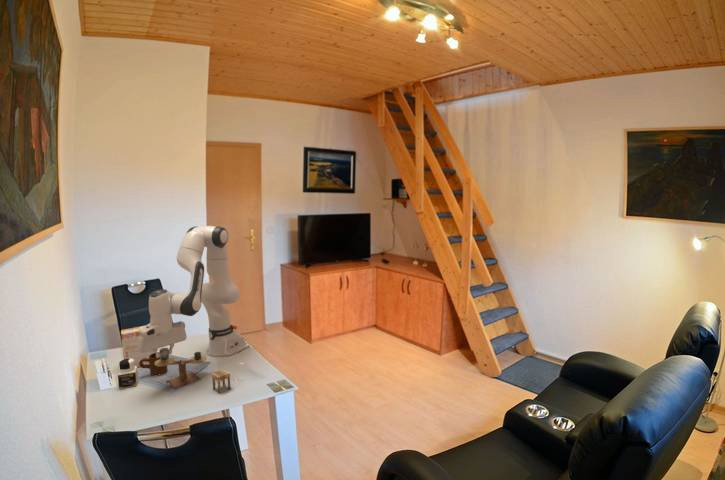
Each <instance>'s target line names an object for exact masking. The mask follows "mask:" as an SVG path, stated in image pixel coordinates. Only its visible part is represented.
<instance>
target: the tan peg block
mask: <svg viewBox="0 0 725 480" xmlns="http://www.w3.org/2000/svg"><path fill="white" fill-rule="evenodd" d="M226 380H227V390H231V372H229V371H227V370H226V369H220V370H219V371H215V372H213V373H211V381H212V390H213V391H216V381H217V390H218V391H217V392H218V394H222V390H221V381H222V386H223V387H224V386H226Z"/></svg>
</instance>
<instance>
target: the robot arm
mask: <svg viewBox="0 0 725 480" xmlns="http://www.w3.org/2000/svg"><path fill="white" fill-rule="evenodd" d="M228 240H229V232H228V230H227V229H226V228H225V227H222V226H214V225H205V226H204V225H203V226H201V225H200V226H192V227H190V228H189V229H188V230H187V232H186V234H185V235H184V237H183V239H182V241H181V243H180V245H179V248H178V251H177V254H176V261H177V264H178V265H179V267H181V268H182V269H184V270H185V271H187V272H189V273H190V276H191V277H190V283H189V290H188V292H187V293H179V292H172V291H169V290H167V289H165V288H164V289H163V288H162V289H157V290H155V291H152V292H151V293H150V294H149V297H148V312H149V315H150V319H149V323H148V324H146V325H143V326H144V327H142V328H141V329H139V333H140V335H139V337H138V350H139V351H140V352H142V353H144V352H147V351H151V350H153V351H154V352H155V353H156V357H157V358H159V357H161V353H158V352H159V350H158V349H162V348H165V347H168V346H169V348H168V352H169V355H171V354H173V349H174V347H175V344H178V343H180V342H184V341H186V339H187V337H188V336H187V332H186V323H185V322H184V321H177V322H176V321H175V322H173V318H172V317H173V316H172V315H174V314H175V315H182V316H188V317H193V316H194V315H196V314H197V313H199V311H200V309H201V307H202V305H203V307H204V309H205V310H206V314H207V317H208V318H207V319H208V326H209V327H208V339H209V344H208V350H207V355H209V356H212V357H223V356H225V357H226V356H227V357H230V356H232V355H235V354H236V353H239V352H241V351H243V350H245V349H247V348H249V347H250V344H249V342H247V341H245V340H246V339H245V337H244V335H242V334H241V333H239V332H238V331H235V330H237V329H238V326H237V325H233V324H231V316H230V315H231V314H230V312H229V310H228V309H227V308H225V306H224V305H228V304H235V303H236V302H237V301H239V298H240V295H241V291H240V289H239V287H238V285H236V284H235V283H234V281H233V280H232V278H231V275H230V273H229V272H230V271H229V255H228V246H227V243H228V242H229V241H228ZM205 248H206V257H205V258H206V259H205V260H206V273H207V275H209V276H210V278H212V281H213V282H210V281H209V282H204V277H205V264H203V262H202V257H203V255H204V250H205ZM247 344H248V345H247Z"/></svg>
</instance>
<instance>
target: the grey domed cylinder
mask: <svg viewBox="0 0 725 480" xmlns="http://www.w3.org/2000/svg"><path fill="white" fill-rule="evenodd" d="M168 349H169V348H168V347H161V348H159V350H158V352H160V353H161V357H160V360H162V361H163V360H167V359H169V358H170V354H169V352H168Z"/></svg>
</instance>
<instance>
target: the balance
mask: <svg viewBox="0 0 725 480" xmlns="http://www.w3.org/2000/svg"><path fill="white" fill-rule="evenodd" d="M193 354H194V356H192V357H190V358H189V359H188V360H186V359H185V360H183V359H180V360H176V361H175V358H174V357H169V359H167V360H163V361H162V360H160V359H159V360H157V361H156V362H155V366H167V367H168V366H172V365H173V366H175V365H178V374H179V375H178V376H176V377H174V378H171V379H167V380H166V382H167V383H169V384H170V385H171V386H172V387H173V388H172V387H171V386H170V385H169V386H170V387H171V388H172V389H174V390H177V389H180V388H182V387H185V386H187V385H190V384H192V383H195V382H198V381H200V380H201V377H200V376H199V375H197V374H195V373H194V372H192V371H190V372H187V364H193V365H195V364H201V363H204V362H206V361H207V359H208V357H207V356H206V355H202V352H201V351H195V352H194V353H193ZM167 383H166V384H167Z"/></svg>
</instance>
